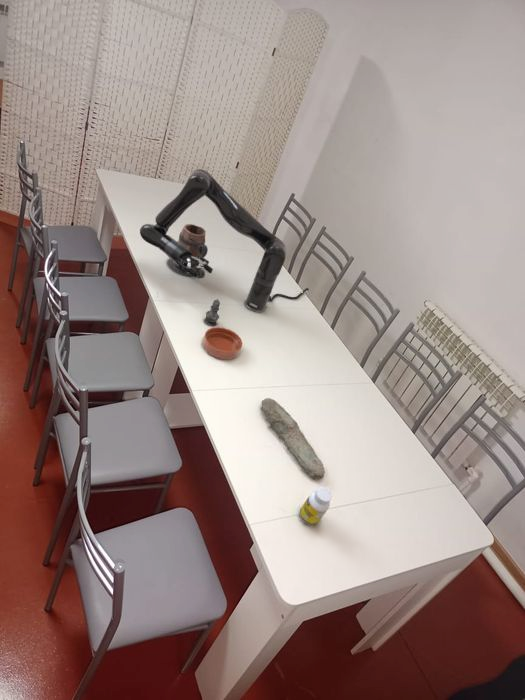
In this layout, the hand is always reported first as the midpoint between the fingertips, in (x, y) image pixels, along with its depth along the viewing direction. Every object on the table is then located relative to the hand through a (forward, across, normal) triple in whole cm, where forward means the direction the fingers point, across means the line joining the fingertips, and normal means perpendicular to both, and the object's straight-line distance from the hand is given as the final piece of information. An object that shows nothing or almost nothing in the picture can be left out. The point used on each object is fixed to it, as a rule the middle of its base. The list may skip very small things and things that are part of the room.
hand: (204, 273), depth 197 cm
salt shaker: (+10, 0, +18) cm, 21 cm away
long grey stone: (+71, -22, +18) cm, 77 cm away
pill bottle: (+93, -41, +18) cm, 103 cm away
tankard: (-24, +19, +18) cm, 36 cm away
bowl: (+24, -8, +18) cm, 31 cm away
